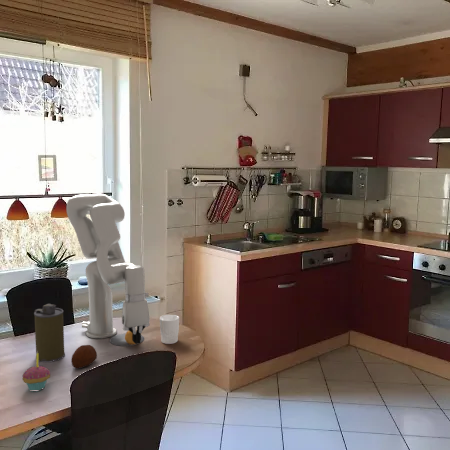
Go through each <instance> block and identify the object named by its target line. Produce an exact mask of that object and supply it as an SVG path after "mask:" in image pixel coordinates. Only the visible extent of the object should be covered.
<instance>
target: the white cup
mask: <svg viewBox="0 0 450 450" xmlns="http://www.w3.org/2000/svg"><path fill="white" fill-rule="evenodd" d="M159 328H160V329H159V331H160V340H161V343H163V344H166V345H170V344H172V345H173V344H175V343H177V342H178V340H179V339H178V337H179V331H180V330H179V329H180V316H178V315H176V314H162V315H160V316H159Z"/></svg>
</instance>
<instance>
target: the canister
mask: <svg viewBox="0 0 450 450" xmlns="http://www.w3.org/2000/svg"><path fill="white" fill-rule="evenodd" d="M64 313H65V312H64V310H63V308H61V307H60V308H59V307H57V304H51V303H46V304H44V305H42V308H37V309H35V310H34V312H33V315H34V335H35V338H34V339H35V355H36V354H37V351H38V353H39V360H40V361H39V362H42V361H52V362H54V361H53V360H56V361H59V360H62V359H63V358H64V357H65V356H66V352H65V333H64ZM62 357H63V358H62ZM58 359H59V360H58Z"/></svg>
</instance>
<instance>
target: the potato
mask: <svg viewBox="0 0 450 450" xmlns="http://www.w3.org/2000/svg"><path fill="white" fill-rule="evenodd" d="M97 358H98V353H97V351H96V348H95V347H94V346H93V345H91V344H84V345H80V346H78V347H77V348H76V349H75V350H74V352H73V353H72V356H71V365H72V367H73V368H74V369H82V368H85V367H86V368H87V367H88V366H90V365H92V364H93V363H94V362H95V361H96V360H97Z"/></svg>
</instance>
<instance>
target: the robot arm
mask: <svg viewBox="0 0 450 450" xmlns="http://www.w3.org/2000/svg"><path fill="white" fill-rule="evenodd" d="M66 215H67V218H68V220H69V223H70V224H71V225H72V227H73V229H74V232H75V234H76V237H77V241H78V244H79V246H80V249H81V251H82V255H83V256H84V258H85V259H88V260H92V259H93V260H94V259H96V260H94V261H92V262H89V263H88V265H87V266H86V267H85V277H86V278H85V279H86V282H87V286H88V287H87V288H88V309H89V313H88V314H89V316H88V318H89V322H88V321H82V322H81V324H82V325H81V328H83V329H86V331H85V335H86V336H87V337H88V338H91V339H106V338H112V337H113V336H115V335H117V329H116V327H114V324H113V323H114V320H113V315H114V313H113V293H112V292H113V291H112V289H111V287H110V286H111V285H116V284H120V283H124V285H125V286H124V290H125V294H124V295H125V300H124V301H123V302H122V311H121V323H122V326H123V327H122V329H123V331H126V332H127V331H131V332H132V340H133V342H134V343H136V344H137V345H139V344H141V343H140V340H141V335H142V332H143V331H144V330H145V328H148V327H149V326H150V321H151V320H150V310H149V305H148V300H147V299H146V297H148V296H149V292H146V286H145V283H146V280H145V269H144V266H142V265H138V264H137V265H136V264H134V263H132V262H129V261H126V260H125V258H124V255H123V252H122V248H121V246H120V244H119V241H120V240H121V234H120V232H119V229H118V226H117V223H121V222H122V221H124V219H125V210H124V207H123V206H122V205H121V203H119V202H118V201H116V200H115V199H113V198H112V197H110V196H109V195H107V194H104V193H92V194H91V193H88V194H87V193H86V194H77V195H74V196H72V197H70V198H69V199H68V200H67V202H66ZM88 215H89V216H90V218H89V217H88ZM109 285H110V286H109ZM136 330H137V331H136ZM138 343H139V344H138Z"/></svg>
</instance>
